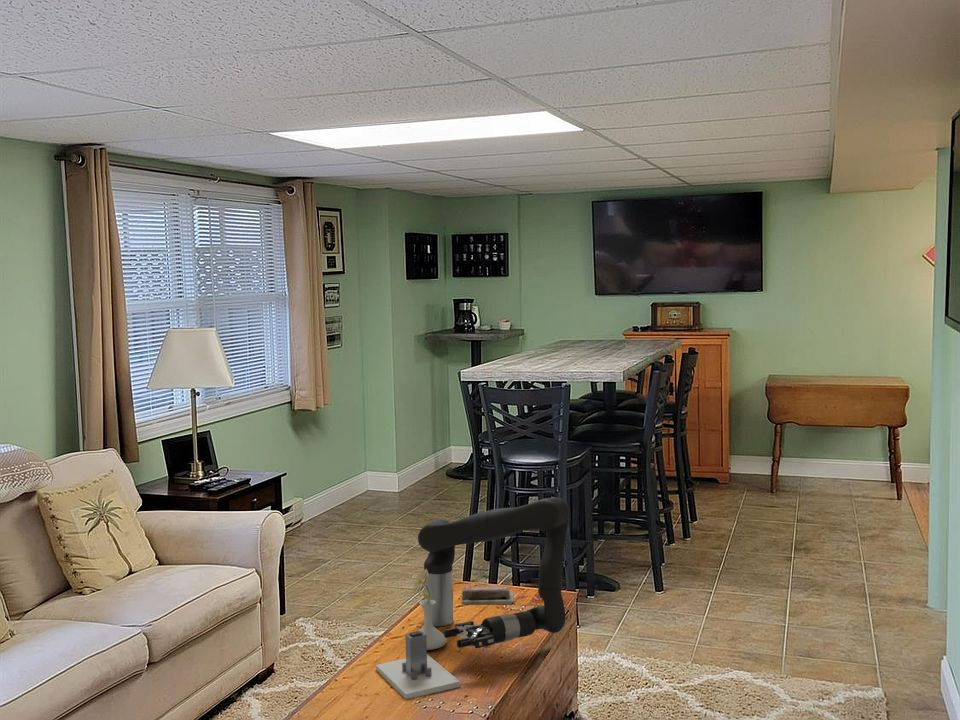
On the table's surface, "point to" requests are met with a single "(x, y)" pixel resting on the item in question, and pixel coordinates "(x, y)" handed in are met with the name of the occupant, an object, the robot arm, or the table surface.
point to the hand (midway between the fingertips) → (450, 639)
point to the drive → (416, 652)
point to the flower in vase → (428, 613)
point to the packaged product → (486, 595)
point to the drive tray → (417, 678)
